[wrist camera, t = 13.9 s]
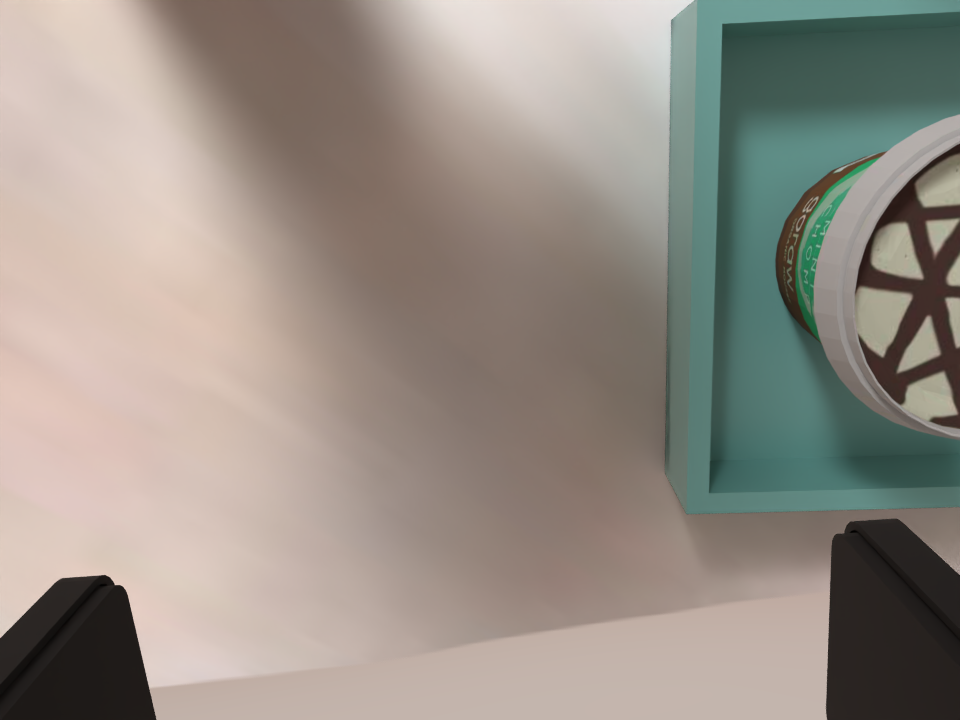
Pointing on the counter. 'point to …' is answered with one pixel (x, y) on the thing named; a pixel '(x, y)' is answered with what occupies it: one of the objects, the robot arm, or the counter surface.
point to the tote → (753, 243)
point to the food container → (885, 277)
